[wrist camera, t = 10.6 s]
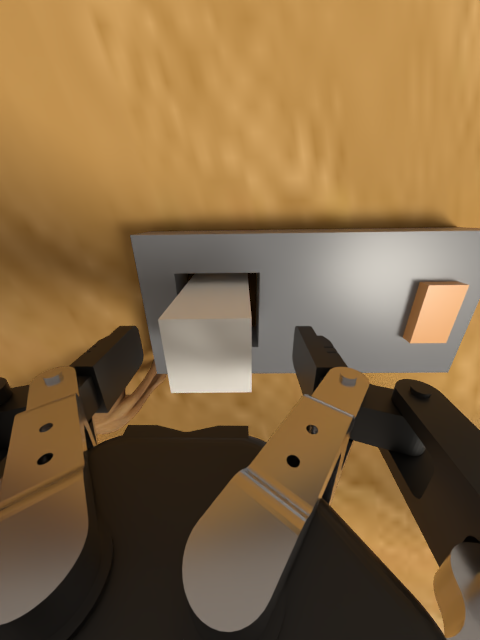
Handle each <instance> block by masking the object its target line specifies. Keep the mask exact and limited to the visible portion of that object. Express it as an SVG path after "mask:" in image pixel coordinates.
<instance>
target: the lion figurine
mask: <svg viewBox="0 0 480 640" xmlns="http://www.w3.org/2000/svg"><path fill="white" fill-rule="evenodd" d="M155 373H156V365H155V360H153V363H152V366H151V368H150V370H149V371H148V373H147V375H146V377H145V378H144V380H143V381H142V382H141V384H140V385H139V386H138V388H137V389H136V390H135V391H134V392H133V393H132V394H131V395H125V389H124V391H123V392H122V394H121V395H120V396H119V398H118V399H117V401H116V402H115V404H114V405H113V407H112V408H111V409H110V411H109V412H108V413H95V414H94V415H93V416H92V418H93V420H94V424H95V429H96V433H97V434H107V433H111V432H114V431H117V430H119V429H120V428H122V427H123V426H124V425H125V424H127V423H128V422H129V421H130V420H131V419H132V418H133V417H134V416H135V415H136V414H137V413H138V412H139V410H140V409H141V408H142V406H143V404H144V403H145V401H146V400H147V398H148V397H149V395H150V394H151V393H152V391H153V390H154V389H155V388H156V387H157V386H158V385H159V384H161V383H162V382H163V381H164V380H165V378H166V375H167V374H156V375H155ZM2 480H3V477H2V478H1V479H0V490H1V485H2Z"/></svg>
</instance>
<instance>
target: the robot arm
mask: <svg viewBox="0 0 480 640" xmlns="http://www.w3.org/2000/svg"><path fill="white" fill-rule="evenodd" d="M292 361H293V366H294V369H295V372H296V375H297V378H298V381H299V384H300V387H301V390H302V393H303V396H302V397H301V399H300V400H299V401H298V402H297V404H296V405H295V406H294V408H293V409H292V410H291V412H290V413H289V414H288V416H287V417H286V418H285V419H284V421H283V422H282V423H281V425H280V426H279V427H278V429H277V430H276V431H275V433H274V434H273V435H272V437H271V438H270V439H269V440H268V442H267V443H266V442H264V441H262V440H260V439H257V438H255V437H251V436H248V426H215V427H210V428H205V429H201V430H196V431H191V432H182V431H178V430H174V429H170V428H166V427H162V426H158V425H128V427H127V428H126V430H125V432H124V434H123V436H119V437H115V438H112V439H109V440H107V441H104V442H102V443H100V444H99V443H98V438H97V433H96V429H95V424H94V420H93V418H92V416H93V415H94V414H95V413H108V412H109V411H110V409H111V408H112V407H113V405H114V404H115V402H116V401H117V399H118V398H119V396H120V395H121V394H122V392H123V391H124V389H125V388H126V386H127V385H128V383H129V382H130V380H131V379H132V378H133V376H134V375H135V373H136V372H137V370H138V369H139V367H140V366H141V364H142V362H143V349H142V344H141V340H140V335H139V330H138V328H137V327H136V326H119V327H118V328H117V329H116V330H115V331H113V332H112V333H111V334H110V335H109V336H107V337H105V338H103V339H101V340H99V341H98V342H97V343H96V344H94V345H93V346H92V347H91V348H90V349H89V350H87V352H85V353H84V354H83V355H82V356H80V357H79V358H78V359H77V360H76V361H75V362H73V363H72V364H71V365H70V366H63V367H57V368H53V369H50V370H47V371H45V372H43V373H41V374H39V375H38V376H36V377H35V378H34V379H33V380H32V381H31V382H30V385H26V386H20V387H15V388H10V386H9V384H8V382H7V380H6V379H5V378H0V479H1V478H2V477H3V480H2V485H1V490H0V640H480V430H479V429H478V428H477V427H476V426H475V425H474V424H473V423H471V422H470V421H469V420H468V419H467V418H466V417H465V416H464V415H463V414H462V413H461V412H460V411H459V410H458V409H457V408H456V407H455V406H454V405H453V404H452V403H451V402H450V401H449V400H448V399H447V398H446V397H445V396H444V395H443V394H442V393H441V392H440V391H438V390H437V389H436V388H434V387H432V386H430V385H428V384H426V383H423V382H420V381H417V380H412V379H402V380H399V381H397V382H396V385H395V388H394V389H390V388H385V387H380V386H375V385H372V384H369V380H368V378H367V377H366V376H365V375H364V374H362V373H361V372H359V371H357V370H355V369H352V368H348V366H347V365H346V363H345V362H344V361H343V359H342V358H341V356H340V355H339V353H337V350H336V349H335V348H334V346H333V344H332V343H331V342H330V340H328V339H327V338H325V337H324V336H317V335H316V333H315V331H314V330H313V328H312V326H296V327H295V331H294V341H293V352H292ZM354 440H355V441H358V442H362V443H365V444H369V445H372V446H376V447H378V448H379V450H380V452H381V454H382V456H383V458H384V459H385V461H386V463H387V465H388V467H389V469H390V471H391V473H392V475H393V477H394V479H395V481H396V483H397V485H398V487H399V489H400V491H401V493H402V495H403V497H404V499H405V501H406V503H407V505H408V507H409V508H410V510H411V512H412V514H413V516H414V518H415V520H416V522H417V524H418V526H419V528H420V530H421V532H422V534H423V536H424V538H425V540H426V542H427V544H428V546H429V548H430V550H431V552H432V554H433V556H434V557H435V559H436V561H437V563H438V565H439V567H440V568H439V569H438V570H437V572H436V573H435V576H434V581H433V586H434V593H435V597H436V600H437V603H438V606H439V609H440V612H441V614H442V618H443V623H444V631H445V635H444V634H443V633H442V631H441V630H440V628H439V627H438V625H437V624H436V622H435V621H434V620H433V618H432V617H431V616H430V614H429V613H428V612H427V611H426V609H425V608H424V607H423V606H422V605H421V603H420V602H419V601H418V600H417V599H416V598H415V597H414V595H413V594H412V593H411V592H410V591H409V590H408V589H407V588H406V587H405V586H404V585H403V584H402V583H401V581H400V580H399V579H398V578H397V577H396V576H395V575H394V574H393V573H392V572H391V571H390V570H389V569H388V568H387V566H386V565H385V564H384V563H383V562H382V561H381V560H380V559H379V558H378V557H377V556H376V555H375V554H374V552H373V551H372V550H371V549H370V548H369V547H368V546H367V545H366V544H365V543H364V542H363V541H362V540H361V539H360V537H359V536H358V535H357V534H356V533H355V532H354V531H353V530H352V529H351V528H350V527H349V526H348V525H347V523H346V522H345V521H344V520H343V519H342V518H341V517H340V516H339V515H338V514H337V513H336V512H335V511H334V510H333V508H332V507H331V503H332V500H333V497H334V494H335V491H336V488H337V485H338V482H339V479H340V476H341V474H342V471H343V468H344V466H345V463H346V461H347V458H348V455H349V453H350V450H351V448H352V445H353V442H354Z"/></svg>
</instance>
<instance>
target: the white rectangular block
mask: <svg viewBox="0 0 480 640" xmlns="http://www.w3.org/2000/svg"><path fill="white" fill-rule="evenodd" d="M158 323H159V328H160V334H161V339H162V345H163V350H164V356H165V361H166V367H167V373H168V378H169V384H170V389H171V393H218V392H252V318H251V307H250V296H249V285H248V274H247V273H195V274H194V275H193V277H192V278H191V279H190V280H189V282H188V283H187V284H186V285H185V287H184V288H183V289H182V290H181V292H180V293H179V294H178V295H177V297H176V298H175V299H174V300H173V302H172V303H171V304H170V305H169V307H168V308H167V309H166V310H165V312H164V313H163V314H162V315H161V317H160V318H159V319H158Z"/></svg>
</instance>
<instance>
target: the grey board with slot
mask: <svg viewBox="0 0 480 640" xmlns="http://www.w3.org/2000/svg"><path fill="white" fill-rule="evenodd" d="M130 237H131V242H132V247H133V252H134V257H135V263H136V268H137V273H138V278H139V283H140V288H141V293H142V299H143V304H144V309H145V314H146V319H147V324H148V329H149V335H150V340H151V345H152V350H153V355H154V360H155V365H156V371H157V374H168V373H167V367H166V361H165V356H164V350H163V345H162V339H161V334H160V328H159V323H158V319H159V318H160V317H161V315H162V314H163V313H164V312H165V310H166V309H167V308H168V307H169V305H170V304H171V303H172V302H173V300H174V299H175V298H176V297H177V295H178V294H179V293H180V292H181V290H182V289H183V288H184V287H185V285H186V284H187V283H188V275H187V273H257V286H256V326H252V373H296V372H295V369H294V366H293V361H292V352H293V341H294V331H295V327H296V326H312V328H313V330H314V331H315V333H316V335H317V336H324V337H325V338H327V339H328V340H330V342H331V343H332V344H333V346H334V348H335V349H336V350H337V353H339V355H340V356H341V358H342V359H343V361H344V362H345V363H346V365H347V366H348V368H352V369H355V370H357V371H359V372H361V373H413V372H448V371H449V369H450V366H451V364H452V362H453V360H454V357H455V355H456V353H457V350H458V348H459V346H460V343H461V341H462V339H463V336H464V334H465V332H466V329H467V327H468V325H469V322H470V320H471V318H472V315H473V313H474V311H475V308H476V306H477V304H478V301H479V299H480V228H462V227H440V228H366V229H291V230H217V231H151V232H145V233H140V234H134V235H130Z"/></svg>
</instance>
